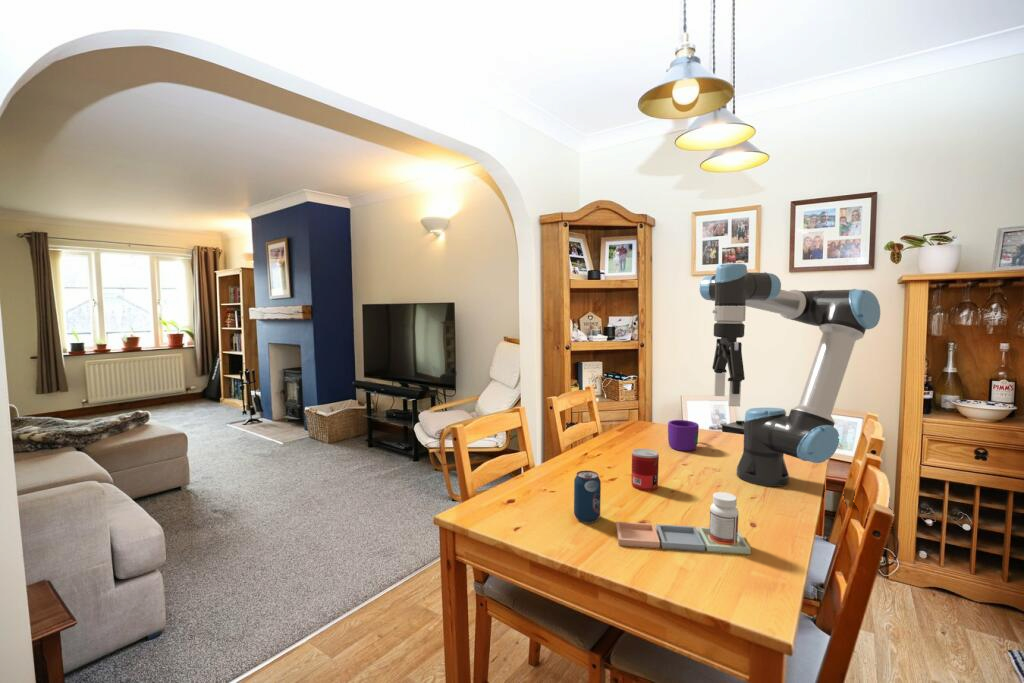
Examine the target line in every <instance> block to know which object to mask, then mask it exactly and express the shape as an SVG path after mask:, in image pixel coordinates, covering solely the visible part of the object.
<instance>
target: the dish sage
mask: <svg viewBox="0 0 1024 683" xmlns="http://www.w3.org/2000/svg"><path fill="white" fill-rule="evenodd" d="M697 531H698V533H699V535H700V537H701V539H702V541H703V543H704V545H705V550H706V552H708V553H717V552H719V553H720V552H721V553H722V554H731V553H739V554H738V555H745V554H752V551H751V550H752V549H751V547H750V545H749V544H748V542H747V541H746V539H745V538H744V537H743V535H742V534H741V532H740V531H739V530H738V539H737V545H736V546H728V545H715V544H714V543H712V542H711V541H710V538H709V533H710V526H709V527H705V526H697ZM719 553H718V554H719Z"/></svg>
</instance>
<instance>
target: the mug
mask: <svg viewBox="0 0 1024 683" xmlns="http://www.w3.org/2000/svg"><path fill="white" fill-rule="evenodd" d="M699 427H700V426H699V424H698V423H697V422H694V421H690V420H687V419H686V420H684V419H674V420H669V421H668V423H667V439H668V445H669V447H670V448H671V449H673V450H676V451H680V452H692V451H695V450H696V449H697V446H698V441H699Z"/></svg>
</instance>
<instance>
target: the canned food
mask: <svg viewBox="0 0 1024 683" xmlns="http://www.w3.org/2000/svg"><path fill="white" fill-rule="evenodd" d="M659 458H660V457H659V452H658V451H657V450H654V449H649V448H634V449H633V450H632V451H631V485H632V487H633V488H635V489H636V490H638V491H643V492H645V491H646V492H650V491H655V490H657V489H658V486H659V461H660V460H659Z"/></svg>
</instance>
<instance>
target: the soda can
mask: <svg viewBox="0 0 1024 683" xmlns="http://www.w3.org/2000/svg"><path fill="white" fill-rule="evenodd" d="M599 475H600V474H599V473H598V472H596V471H593V470H580V471H578V472H576V476H575V477H574V480H573V481H574V482H573V484H574V485H573V486H574V487H573V488H574V489H573V493H574V494H573V514H574V517H575V518H576V519H577V520H578V521H580V522H582V523H587V524H590V523H595V522H597V521H598V520H599V518H600V517H601V484H602V483H601V479H600V477H599Z"/></svg>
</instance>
